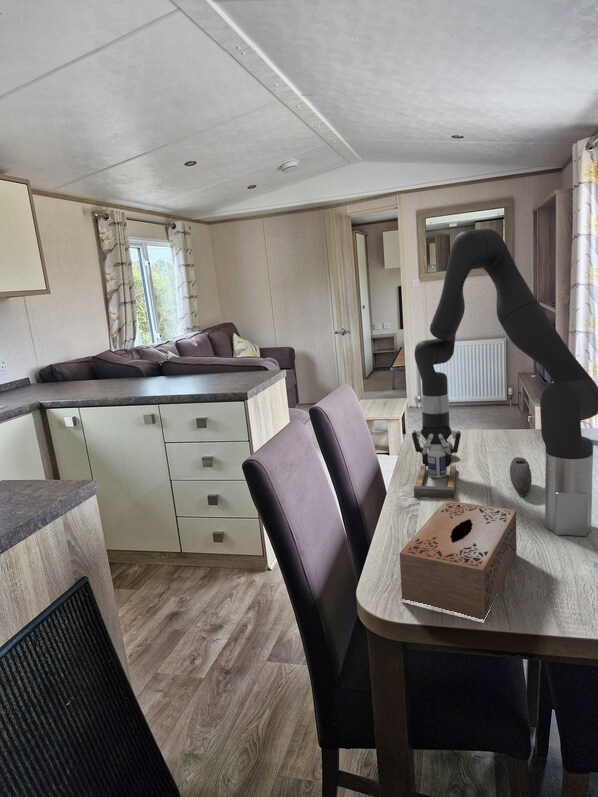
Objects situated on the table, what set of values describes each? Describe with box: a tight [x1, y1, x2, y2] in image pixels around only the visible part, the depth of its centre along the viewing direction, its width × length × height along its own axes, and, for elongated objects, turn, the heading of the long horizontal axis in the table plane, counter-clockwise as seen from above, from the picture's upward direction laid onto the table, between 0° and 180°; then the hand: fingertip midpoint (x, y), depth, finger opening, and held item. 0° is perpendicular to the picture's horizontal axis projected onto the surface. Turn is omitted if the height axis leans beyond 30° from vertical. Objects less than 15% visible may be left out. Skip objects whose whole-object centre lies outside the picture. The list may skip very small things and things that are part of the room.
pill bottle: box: [427, 444, 448, 479], centre depth 159 cm, size 5×5×10 cm
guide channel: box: [413, 464, 457, 499], centre depth 154 cm, size 22×10×2 cm, turn 163°
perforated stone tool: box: [509, 456, 533, 497], centre depth 144 cm, size 15×5×7 cm, turn 161°
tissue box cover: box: [399, 499, 518, 620], centre depth 105 cm, size 26×14×10 cm, turn 148°
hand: (437, 465), depth 160 cm, fingers closed on pill bottle, 5 cm apart
